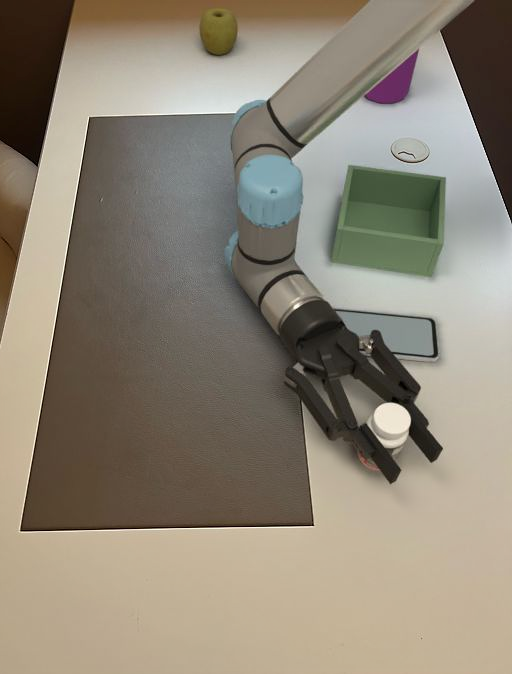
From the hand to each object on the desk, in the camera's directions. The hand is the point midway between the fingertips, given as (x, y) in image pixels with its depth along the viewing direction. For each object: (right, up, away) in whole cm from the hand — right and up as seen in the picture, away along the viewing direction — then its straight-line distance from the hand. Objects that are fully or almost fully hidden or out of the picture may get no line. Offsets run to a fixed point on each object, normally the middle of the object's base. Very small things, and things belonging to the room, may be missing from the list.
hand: (416, 466), depth 67 cm
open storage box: (+4, +31, +29) cm, 43 cm away
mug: (+10, +67, +53) cm, 86 cm away
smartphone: (+1, +15, +18) cm, 23 cm away
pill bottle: (-2, 0, +8) cm, 8 cm away
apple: (-22, +77, +60) cm, 100 cm away
